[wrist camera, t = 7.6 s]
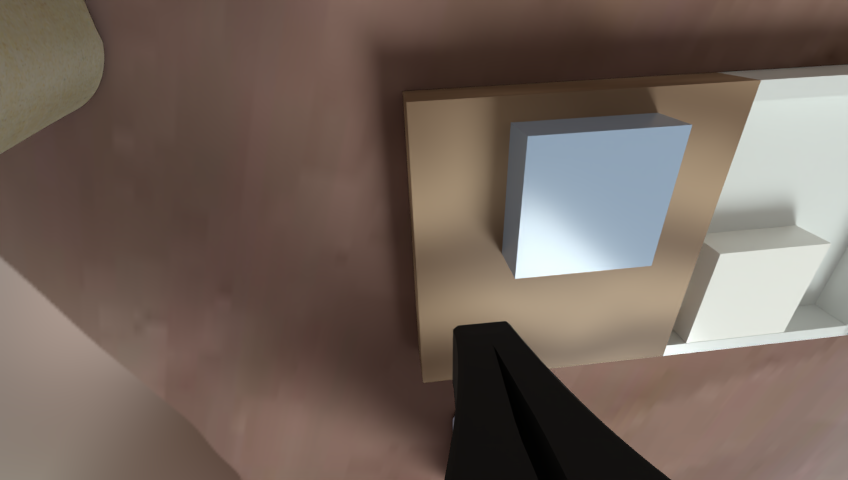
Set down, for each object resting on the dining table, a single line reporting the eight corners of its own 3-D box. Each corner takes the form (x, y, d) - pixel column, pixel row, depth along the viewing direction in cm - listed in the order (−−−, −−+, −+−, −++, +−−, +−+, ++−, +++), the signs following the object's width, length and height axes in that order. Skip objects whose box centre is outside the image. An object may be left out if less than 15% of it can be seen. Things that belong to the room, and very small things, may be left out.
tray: (814, 308, 26) (852, 334, 24) (639, 327, 25) (663, 355, 23) (957, 57, 19) (1030, 63, 17) (715, 72, 18) (760, 80, 16)
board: (639, 327, 25) (663, 355, 23) (419, 351, 24) (423, 382, 22) (715, 72, 18) (760, 80, 16) (402, 90, 17) (406, 102, 15)
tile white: (755, 310, 25) (783, 332, 23) (664, 320, 25) (686, 343, 23) (795, 225, 22) (831, 243, 20) (692, 234, 22) (720, 254, 20)
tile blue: (626, 242, 19) (651, 265, 17) (502, 253, 18) (514, 278, 17) (658, 112, 16) (692, 124, 14) (510, 122, 16) (527, 136, 14)
